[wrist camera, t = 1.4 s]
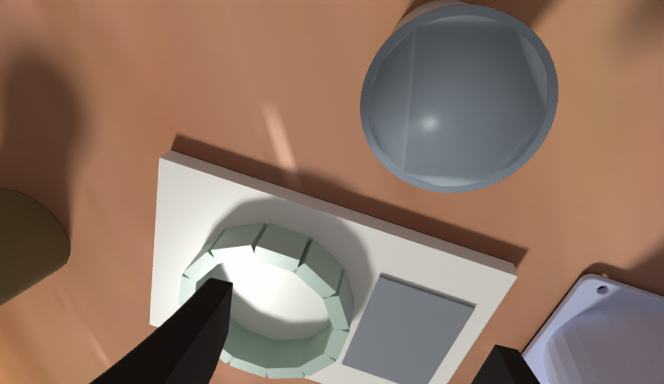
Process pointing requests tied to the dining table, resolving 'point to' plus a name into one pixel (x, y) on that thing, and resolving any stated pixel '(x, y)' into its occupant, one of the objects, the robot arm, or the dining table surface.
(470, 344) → the white base plate
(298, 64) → the dining table surface
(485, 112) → the tube
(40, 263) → the cork
